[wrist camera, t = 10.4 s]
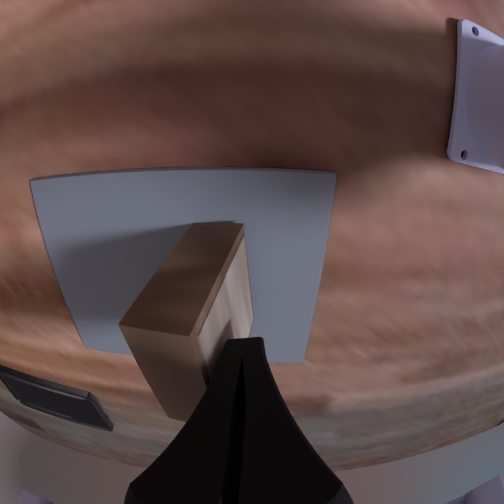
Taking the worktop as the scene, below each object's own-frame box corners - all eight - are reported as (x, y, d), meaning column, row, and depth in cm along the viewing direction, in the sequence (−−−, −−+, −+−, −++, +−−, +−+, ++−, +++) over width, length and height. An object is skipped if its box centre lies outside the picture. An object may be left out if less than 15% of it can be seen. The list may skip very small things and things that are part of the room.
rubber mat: (334, 171, 14) (337, 175, 13) (302, 357, 20) (302, 362, 20) (34, 178, 13) (29, 181, 13) (88, 343, 20) (86, 348, 20)
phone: (-9, 366, 23) (91, 399, 24) (-5, 360, 24) (95, 390, 24) (20, 403, 27) (115, 433, 28) (23, 397, 28) (117, 425, 29)
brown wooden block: (245, 223, 14) (191, 336, 8) (255, 319, 17) (223, 429, 11) (193, 223, 15) (117, 324, 9) (212, 315, 18) (168, 417, 12)
